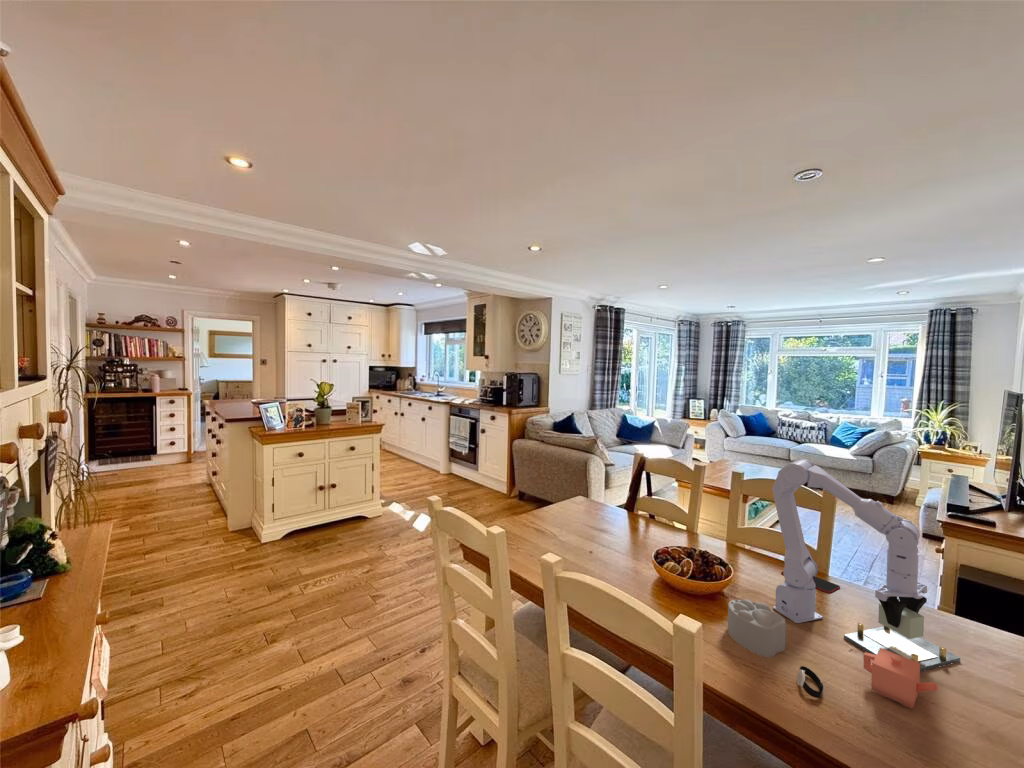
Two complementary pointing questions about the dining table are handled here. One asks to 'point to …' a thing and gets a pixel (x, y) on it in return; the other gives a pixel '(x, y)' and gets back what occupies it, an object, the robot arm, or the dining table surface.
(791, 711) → the dining table surface
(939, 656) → the chassis
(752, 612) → the lumpy-topped squat cylinder
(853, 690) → the dining table surface
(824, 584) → the smartphone
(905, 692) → the pink cube teapot
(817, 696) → the watch
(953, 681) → the dining table surface
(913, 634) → the board block
